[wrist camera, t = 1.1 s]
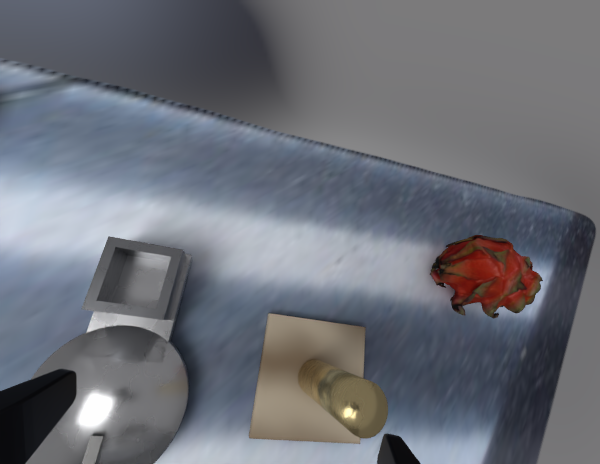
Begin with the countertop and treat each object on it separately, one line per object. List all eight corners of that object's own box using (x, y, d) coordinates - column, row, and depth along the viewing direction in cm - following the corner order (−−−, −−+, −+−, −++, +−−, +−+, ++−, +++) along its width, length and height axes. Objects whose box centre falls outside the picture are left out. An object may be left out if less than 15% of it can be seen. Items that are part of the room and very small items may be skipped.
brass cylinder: (327, 396, 26) (387, 439, 16) (295, 394, 25) (339, 437, 16) (330, 361, 27) (388, 382, 17) (300, 357, 26) (343, 378, 17)
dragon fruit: (491, 295, 36) (402, 281, 36) (517, 234, 34) (423, 217, 33) (546, 338, 28) (434, 321, 28) (586, 262, 26) (464, 240, 25)
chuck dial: (168, 487, 21) (156, 524, 17) (-4, 485, 19) (-62, 527, 15) (219, 262, 27) (219, 252, 23) (92, 240, 25) (68, 225, 21)
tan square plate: (357, 441, 26) (360, 443, 25) (248, 435, 24) (249, 438, 23) (362, 327, 29) (365, 327, 28) (268, 313, 27) (269, 313, 26)
